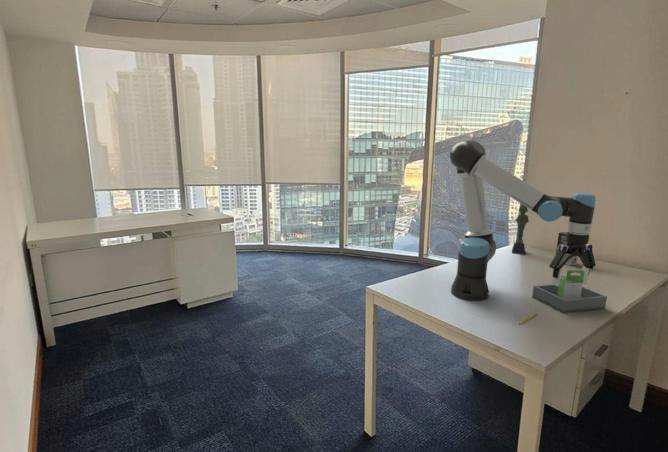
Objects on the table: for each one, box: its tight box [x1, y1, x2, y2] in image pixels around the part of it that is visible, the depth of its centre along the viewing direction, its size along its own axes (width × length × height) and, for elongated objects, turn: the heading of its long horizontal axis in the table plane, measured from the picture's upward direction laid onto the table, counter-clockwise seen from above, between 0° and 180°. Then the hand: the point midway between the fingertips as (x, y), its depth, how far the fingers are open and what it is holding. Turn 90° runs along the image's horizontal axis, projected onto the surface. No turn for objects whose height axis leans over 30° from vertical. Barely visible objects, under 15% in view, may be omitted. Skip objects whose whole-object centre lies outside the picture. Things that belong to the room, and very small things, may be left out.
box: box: [531, 283, 608, 314], centre depth 153 cm, size 20×16×5 cm
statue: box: [511, 204, 530, 255], centre depth 223 cm, size 7×8×30 cm
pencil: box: [518, 311, 538, 325], centre depth 138 cm, size 1×14×1 cm, turn 130°
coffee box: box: [555, 231, 579, 266], centre depth 206 cm, size 9×6×16 cm
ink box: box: [558, 269, 584, 300], centre depth 152 cm, size 7×4×13 cm, turn 86°
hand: (569, 284), depth 152 cm, fingers open, 13 cm apart
